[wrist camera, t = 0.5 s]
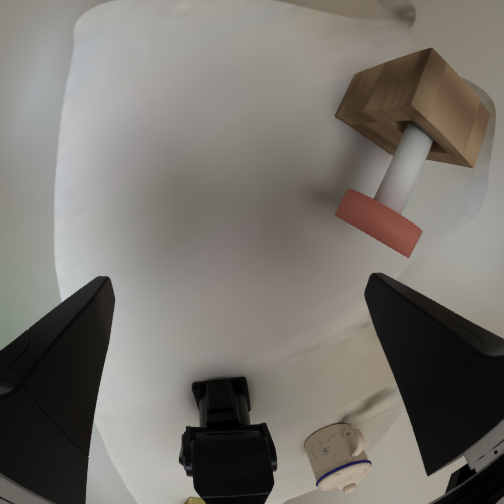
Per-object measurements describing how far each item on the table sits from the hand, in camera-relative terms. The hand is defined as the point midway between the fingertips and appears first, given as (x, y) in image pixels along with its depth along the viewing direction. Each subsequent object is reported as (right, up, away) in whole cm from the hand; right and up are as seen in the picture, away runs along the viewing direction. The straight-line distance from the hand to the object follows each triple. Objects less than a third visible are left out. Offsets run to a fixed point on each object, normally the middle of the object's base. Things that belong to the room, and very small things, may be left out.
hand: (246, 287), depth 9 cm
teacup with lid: (+13, -29, +30) cm, 44 cm away
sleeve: (+12, +14, +14) cm, 23 cm away
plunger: (+10, +7, +11) cm, 16 cm away
